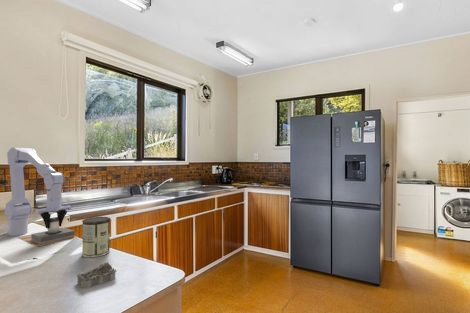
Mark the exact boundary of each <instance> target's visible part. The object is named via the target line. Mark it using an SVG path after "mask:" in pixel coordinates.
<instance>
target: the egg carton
mask: <svg viewBox="0 0 470 313" xmlns="http://www.w3.org/2000/svg"><path fill="white" fill-rule="evenodd" d="M116 272H117V269H115V268H114V267H112V264H110V262H108V261H107V262H104V263H102V264H99V266H98V267H94V268H93V269H90V270H86V271H85V272H83V273H79V274H76V277H77V285H80V288H82V289H84V288H85V289H89V288H92V286H93V285H101V284H103V283H104V282H105V281H113V280H114V279H115V278H116Z"/></svg>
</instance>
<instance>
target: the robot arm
mask: <svg viewBox="0 0 470 313" xmlns="http://www.w3.org/2000/svg"><path fill="white" fill-rule="evenodd" d="M6 155H7V156H6V157H7V158H6V159H7V165H9V174H10V176H9V177H10V190H11V199H10V200H9V201H8V202H6V203H5V208H4V215H5V217H6V218H7V219H8V221H7V225H6V226H7V227H6V233H7V235H9V236H12V237H13V236H14V237H17V236H18V237H19V236H25V235H26V234H28V231H29V230H28V226H29V217H30V215H31V214H32V213H33V211H35V212H34V214H35V215H40V217H41V219H42V220H43V223H44V225H45V226H44V227H45V229H47V230H48V229H49V228H50V218H51V216H52V215H51V213H55V212H56V217H58V218H59V227H62V224H63V221H64V219H65V217H66V215H67V213H68V211H70V210H72V205H70V204H69V205H62V186H63V184H64V183H65V181H66V180H65V175H64V173H63V172H58V171H56V170H55V169H54V168H53V167H52V166H51V164H49V163H47V162H46V163H44V162H43V161H42V160H41V159H40V157H39V156H38V154H37V150H35V148H32V147H29V148H28V147H14V146H13V147H10V148H9V150H8V151H7V152H6ZM29 163H30V164H31V165H33V167H35V168H36V172H37V174H38V175H40V176H41V177H42V179H43V183H44V185H45V189H46V207H44V208H37V209H35V210H34V209H33V205H32V201H31V200H30V199H28V198H27V197H26V190H25V189H26V188H25V175H24V167H25V166H26V165H28V164H29ZM67 210H68V211H67Z"/></svg>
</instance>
